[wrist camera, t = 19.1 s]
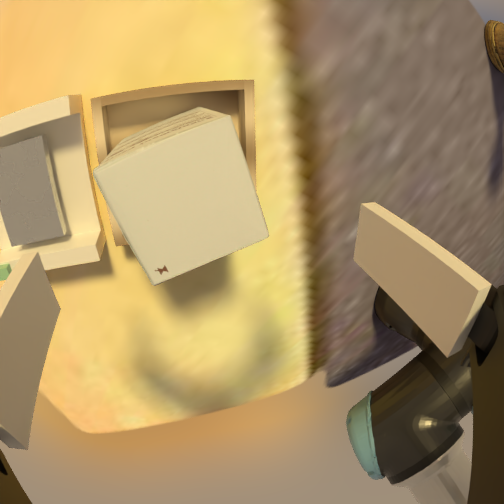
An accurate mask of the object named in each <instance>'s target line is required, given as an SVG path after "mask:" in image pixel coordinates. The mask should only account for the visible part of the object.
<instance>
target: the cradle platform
mask: <svg viewBox="0 0 504 504" xmlns="http://www.w3.org/2000/svg"><path fill="white" fill-rule="evenodd" d="M0 212H1V215H2V219H3V222H4V225H5V228H6V231H7V234H8V237H9V240H10V243H11V246H12V247H14V246H18V245H23V244H27V243H32V242H36V241H41V240H46V239H50V238H55V237H60V236H64V235H65V233H66V231H67V230H66V226H65V223H64V219H63V215H62V211H61V207H60V203H59V199H58V195H57V190H56V186H55V181H54V177H53V172H52V166H51V161H50V156H49V150H48V144H47V137H46V134H43V135H39V136H36V137H33V138H30V139H26V140H23V141H20V142H17V143H14V144H11V145H8V146H6V147H3V148H0Z"/></svg>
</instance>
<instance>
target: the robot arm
mask: <svg viewBox="0 0 504 504" xmlns="http://www.w3.org/2000/svg"><path fill="white" fill-rule="evenodd" d="M353 260H354V261H355V262H356V263H357V264H358V265H359V266H360V267H361V268H362V269H363V270H364V271H365V272H366V273H367V274H368V275H369V276H370V277H371V278H372V279H373V280H374V281H375V282H376V283H377V284H378V285H379V286H380V287H379V290H378V293H377V296H376V301H375V311H376V314H377V316H378V318H379V319H380V320H381V321H382V322H383V323H384V325H385V326H387V327H388V328H389V329H391V330H393V331H397V332H398V333H399V334H401V335H403V336H404V337H406V338H408V339H410V340H412V341H414V342H415V343H416V344H417V345H418V346H419V347H420V348H421V350H422V352H421V353H419V354H418V355H417V356H416V357H415V358H413V360H411V361H410V362H409V363H408V364H406V365H405V366H404V367H403V368H402V369H401V370H399V371H398V372H397V373H396V374H394V375H393V376H392V377H391V378H390V379H389V380H387V381H386V382H385V383H383V384H382V385H381V386H379V387H378V388H377V389H376V390H374V391H370V392H369V393H368V395H367V396H366V397H365V398H363V399H362V400H361V401H360V402H358V403H357V404H356V405H355V406H353V407H352V409H350V411H349V413H348V415H347V421H346V424H347V431H348V435H349V439H350V442H351V445H352V447H353V450H354V452H355V454H356V456H357V458H358V460H359V462H360V464H361V466H362V467H363V469H364V470H365V471H366V472H367V473H368V475H369V476H370V477H371V478H372V479H375V480H378V479H383V478H384V477H385V476H386V477H387V478H388V480H389V481H390V483H391V484H392V486H397V487H406V488H409V490H410V491H411V493H412V494H413V496H414V497H415V499H416V500H417V502H418V503H419V504H504V285H501V286H499V287H498V289H496V288H495V287H494V286H493V285H491V284H490V283H489V282H488V281H486V280H485V279H484V278H483V277H481V276H480V275H479V274H478V273H476V272H475V271H474V270H473V269H471V268H470V267H469V266H467V265H466V264H465V263H463V262H462V261H461V260H459V259H458V258H457V257H455V256H454V255H453V254H451V253H450V252H448V251H447V250H446V249H444V248H443V247H441V246H440V245H439V244H437V243H436V242H434V241H433V240H432V239H430V238H429V237H427V236H426V235H424V234H423V233H421V232H420V231H418V230H417V229H416V228H414V227H413V226H411V225H410V224H408V223H407V222H405V221H403V220H402V219H400V218H399V217H397V216H396V215H394V214H393V213H391V212H390V211H388V210H386V209H385V208H383V207H382V206H380V205H378V204H377V203H375V202H373V203H363V204H361V207H360V215H359V223H358V231H357V238H356V245H355V252H354V258H353ZM59 312H60V306H59V304H58V302H57V299H56V297H55V295H54V292H53V290H52V287H51V285H50V282H49V280H48V277H47V275H46V272H45V269H44V267H43V264H42V261H41V258H40V256H39V253H38V251H37V252H32V253H27V254H23V255H22V256H21V258H20V259H19V261H18V262H17V264H16V265H15V267H14V268H13V270H12V271H11V273H10V274H9V276H8V278H7V279H6V281H5V282H4V284H3V286H2V287H1V289H0V440H1V441H2V442H4V443H5V444H6V445H7V446H8V447H9V448H17V449H26V450H28V445H29V437H30V430H31V424H32V418H33V412H34V406H35V402H36V397H37V392H38V388H39V383H40V379H41V375H42V371H43V367H44V363H45V359H46V355H47V352H48V348H49V344H50V341H51V338H52V334H53V331H54V328H55V324H56V321H57V318H58V315H59ZM470 411H471V413H472V414H473V451H472V462H471V461H470V460H469V458H468V457H467V455H466V454H465V452H464V451H463V449H462V443H463V439H464V435H465V432H464V430H463V429H462V427H461V426H460V425H459V421H460V420H461V419H462V418H463V417H464V416H466V415H467V414H468V413H469V412H470ZM0 504H32V503H31V501H30V500H29V498H28V496H27V495H26V493H25V492H24V490H23V489H22V487H21V485H20V483H19V482H18V480H17V478H16V476H15V475H14V473H13V471H12V469H11V468H10V466H9V464H8V462H7V460H6V458H5V456H4V454H3V453H2V451H1V450H0Z"/></svg>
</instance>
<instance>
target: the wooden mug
mask: <svg viewBox="0 0 504 504" xmlns="http://www.w3.org/2000/svg"><path fill="white" fill-rule="evenodd" d="M485 42H486V47H487V51H488V54H489V57H490V59H491V61H492V63H493V64H494V66H495V67H496V68H497V69H498V70H500V71H501V72H502V73H504V24H503V23H501V22H498V21H493V20H490V21H488V22H487V24H486V26H485Z"/></svg>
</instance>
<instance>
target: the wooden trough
mask: <svg viewBox="0 0 504 504" xmlns="http://www.w3.org/2000/svg"><path fill="white" fill-rule="evenodd" d="M91 107H92V116H93V125H94V133H95V141H96V148H97V155H98V161H99V165H100V164H101V162H102V161H103V160H104V159H105V158H106V157H107V156H108V155H109V153H110V152H111V151H112V150H113V149H114V148H115V147H116V146H117V145H118V144H119V143H120V142H121V141H122V140H123V139H124V138H126V137H128V136H130V135H132V134H134V133H137V132H139V131H141V130H143V129H145V128H147V127H150V126H152V125H154V124H157V123H159V122H161V121H164V120H166V119H168V118H171V117H173V116H176V115H179V114H181V113H184V112H186V111H189V110H191V109H194V108H197V107H202V108H206V109H209V110H213V111H216V112H220V113H223V114H227V115H230V116H231V118H232V121H233V124H234V127H235V129H236V132H237V135H238V138H239V141H240V144H241V147H242V150H243V153H244V156H245V159H246V162H247V165H248V168H249V171H250V174H251V177H252V180H253V183H254V186H255V190H256V147H255V102H254V80H228V81H210V82H197V83H186V84H176V85H167V86H160V87H152V88H145V89H139V90H133V91H127V92H122V93H116V94H111V95H106V96H101V97H97V98H92V99H91ZM106 205H107V203H106ZM107 209H108V214H109V219H110V223H111V227H112V232H113V236H114V240H115V244H116V246H121V245H127V244H128V242H127V241H126V239H125V238H124V236H123V234H122V232H121V230H120V227H119V225H118V224H117V222H116V220H115V218H114V216H113V214H112V212H111V210H110V208H109V206H108V205H107Z"/></svg>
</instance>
